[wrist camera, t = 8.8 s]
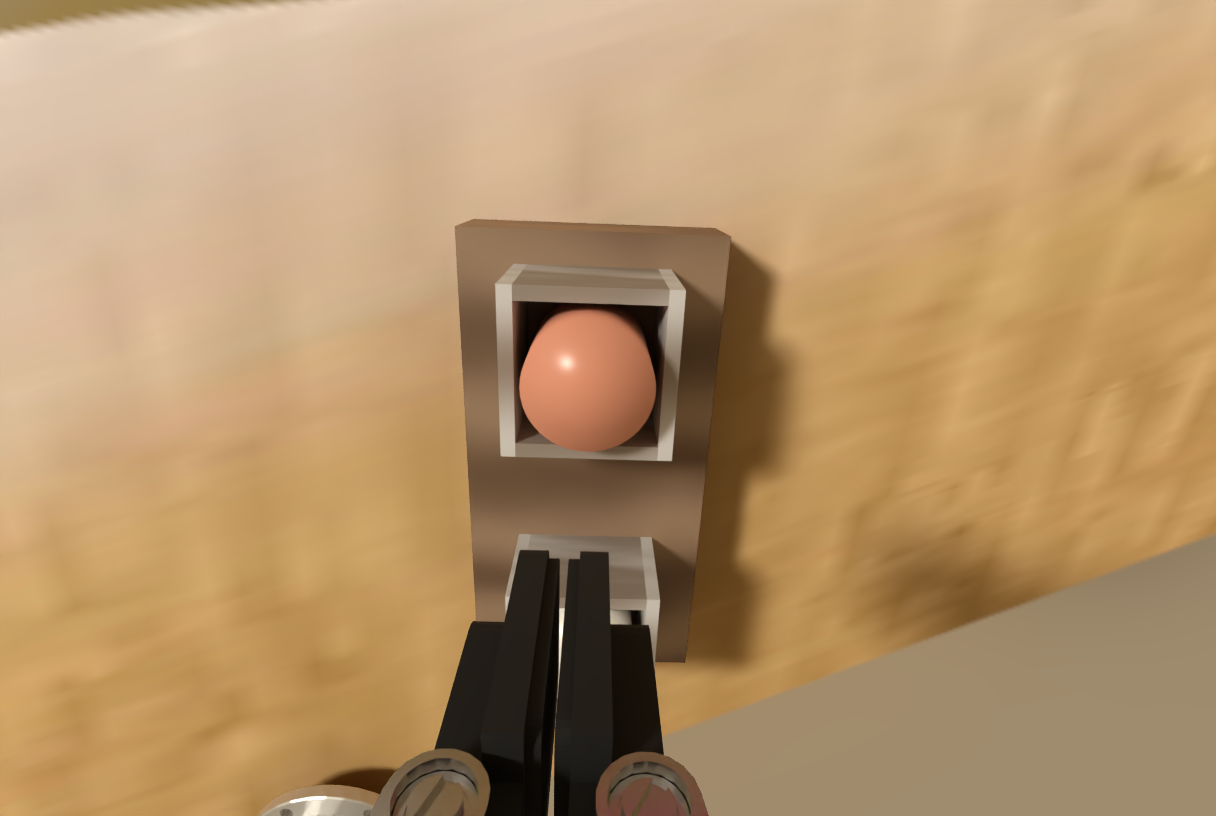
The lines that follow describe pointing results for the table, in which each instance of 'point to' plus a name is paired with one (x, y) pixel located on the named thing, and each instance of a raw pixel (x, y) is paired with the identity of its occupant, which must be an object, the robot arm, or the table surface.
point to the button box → (602, 480)
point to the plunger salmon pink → (588, 377)
